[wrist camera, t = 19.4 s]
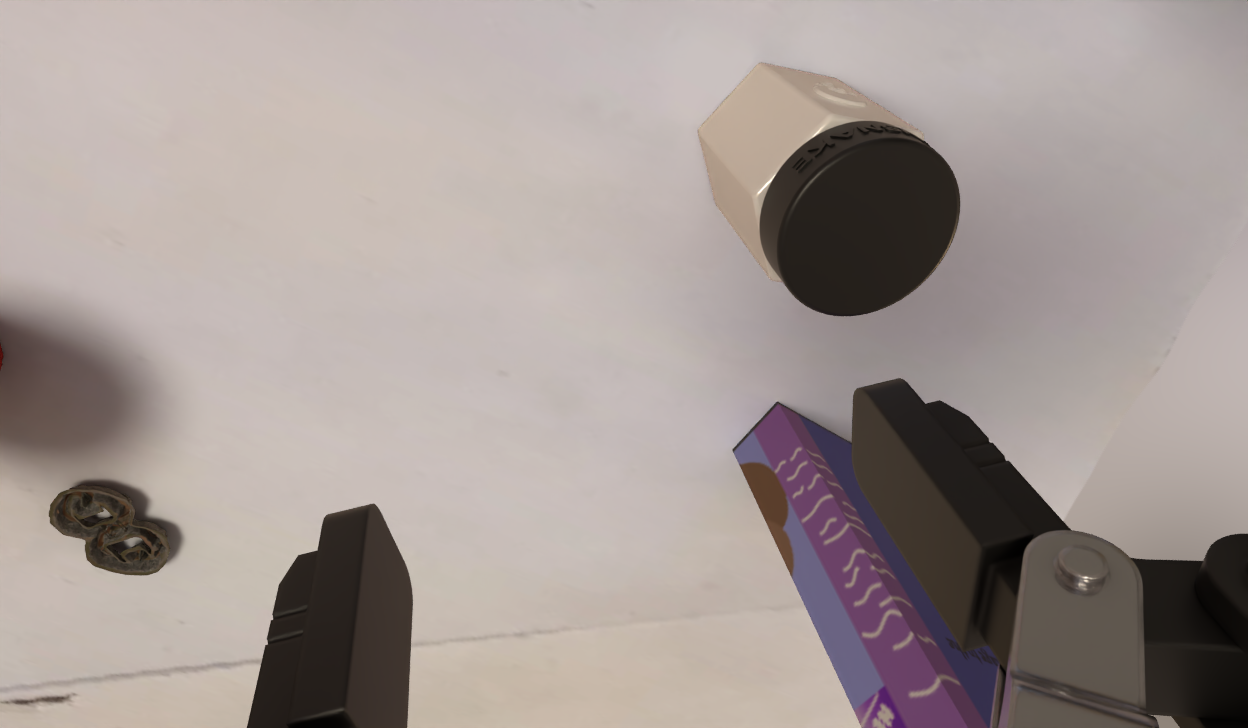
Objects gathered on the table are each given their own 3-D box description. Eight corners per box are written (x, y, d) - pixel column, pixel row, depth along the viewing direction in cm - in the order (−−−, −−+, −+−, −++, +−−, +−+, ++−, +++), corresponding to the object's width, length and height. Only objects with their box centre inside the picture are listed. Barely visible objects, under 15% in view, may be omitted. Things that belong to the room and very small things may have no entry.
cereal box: (732, 449, 54) (892, 792, 35) (777, 401, 53) (971, 733, 33) (888, 527, 62) (1090, 841, 43) (932, 488, 61) (1162, 796, 41)
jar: (873, 81, 41) (1005, 156, 32) (820, 222, 46) (921, 327, 36) (718, 48, 39) (809, 119, 29) (677, 200, 43) (744, 307, 33)
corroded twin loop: (112, 465, 46) (105, 477, 45) (193, 550, 50) (189, 562, 49) (32, 493, 46) (24, 505, 45) (120, 575, 50) (115, 588, 50)
